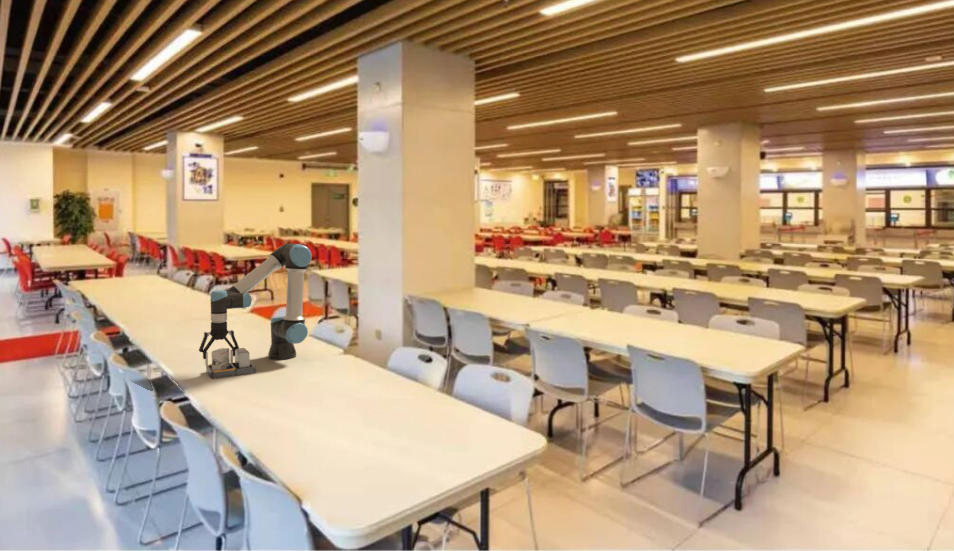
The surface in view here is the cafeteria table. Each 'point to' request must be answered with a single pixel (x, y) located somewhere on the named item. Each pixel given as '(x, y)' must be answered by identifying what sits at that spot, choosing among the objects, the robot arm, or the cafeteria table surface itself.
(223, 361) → the ink box
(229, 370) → the rack
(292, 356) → the robot arm
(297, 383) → the cafeteria table surface
